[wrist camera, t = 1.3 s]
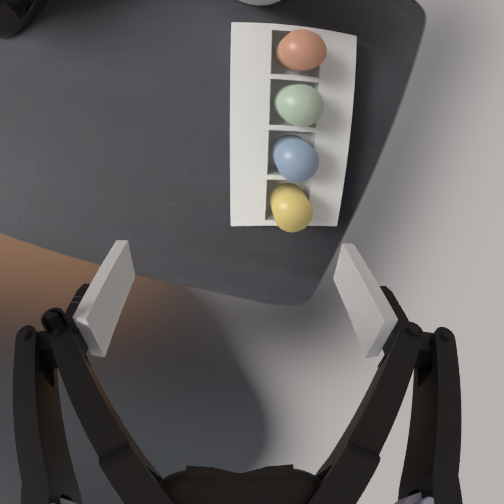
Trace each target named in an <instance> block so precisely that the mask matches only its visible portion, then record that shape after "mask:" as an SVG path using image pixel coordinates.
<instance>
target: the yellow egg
mask: <svg viewBox="0 0 504 504" xmlns="http://www.w3.org/2000/svg"><path fill="white" fill-rule="evenodd" d="M270 205H271V208H272V212H273V216H274V219H275V222H276V224H277V225H278V227H279V228H281V229H282V230H284V231H287V232H297V231H300V230H302V229H304V228H306V227H307V226H308V225H309V223H310V222H311V220H312V217H313V208H312V206H311V204H310V202H309V201H308V199H307V197H306V196H305V194H304V192H303V191H302V189H301V188H300V187H299V186H298V185H296V184H294V183H282V184H280V185H278V186H276V187H275V188H274V189H273V191H272V192H271V195H270Z"/></svg>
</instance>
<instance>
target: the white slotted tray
mask: <svg viewBox="0 0 504 504" xmlns="http://www.w3.org/2000/svg"><path fill="white" fill-rule="evenodd" d="M298 29H306V30H310V31H313V32H315V33H316V34H318V35H319V36H320V37H321V38H322V39H323V41H324V42H325V45H326V48H327V54H326V58H325V60H324V61H323V63H322V64H321V65H319V66H318V67H316V68H313V69H309V70H304V71H298V72H295V71H290V70H287V69H285V68H284V67H282V66H281V65H280V64H279V62H278V60H277V58H276V54H275V51H276V47H277V45H278V43H279V42H280V41H281V40H282V39H283V38H284V37H285V36H286V35H287V34H289V33H290V32H292V31H294V30H298ZM356 43H357V36H354V35H350V34H345V33H340V32H335V31H329V30H323V29H317V28H310V27H303V26H294V25H284V24H271V23H245V22H231V69H230V201H231V226H278V225H277V224H276V222H275V219H274V216H273V212H272V208H271V205H270V195H271V192H272V191H273V189H274V188H275V187H276V186H278V185H280V184H282V183H294V184H296V185H298V186H299V187H300V188H301V189H302V191H303V192H304V194H305V196H306V197H307V199H308V201H309V202H310V204H311V206H312V208H313V217H312V220H311V222H310V223H309V225H308V226H337V223H338V217H339V211H340V205H341V199H342V193H343V186H344V179H345V172H346V165H347V157H348V149H349V141H350V132H351V122H352V111H353V100H354V86H355V69H356ZM295 84H304V85H308V86H311V87H313V88H314V89H316V90H317V91H318V92H319V93H320V95H321V97H322V99H323V102H324V110H323V113H322V116H321V117H320V119H319V120H318V121H317V122H316V123H314V124H312V125H310V126H305V127H300V126H295V125H293V124H291V123H289V122H288V121H286V120H285V119H283V118H282V117H281V116H279V114H278V113H277V112H276V110H275V107H274V98H275V95H276V93H277V92H278V91H279V90H280V89H281V88H282V87H284V86H287V85H295ZM291 134H292V135H297V136H299V137H301V138H302V139H303V140H305V141H306V142H307V143H308V144H310V145H311V146H312V147H313V148H314V149H315V150H316V152H317V154H318V157H319V166H318V169H317V171H316V173H315V174H314V175H313V176H312V177H311V178H310V179H308V180H306V181H304V182H291V181H289V180H287V179H285V178H284V177H283V176H282V175H281V174H280V172H279V170H278V168H277V166H276V164H275V162H274V160H273V157H272V148H273V145H274V143H275V142H276V141H277V140H278V139H279V138H280V137H282V136H284V135H291Z"/></svg>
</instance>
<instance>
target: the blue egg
mask: <svg viewBox="0 0 504 504" xmlns="http://www.w3.org/2000/svg"><path fill="white" fill-rule="evenodd" d="M272 157H273V160H274V162H275V164H276V166H277V168H278V170H279V172H280V174H281V175H282V176H283V177H284V178H285V179H287V180H289V181H291V182H304V181H306V180H308V179H310V178H311V177H312V176H313V175H314V174H315V173H316V171H317V169H318V166H319V157H318V154H317V152H316V150H315V149H314V148H313V147H312V146H311V145H310V144H308V143H307V142H306V141H305V140H303V139H302V138H301V137H299V136H297V135H292V134H291V135H284V136H282V137H280V138H279V139H278V140H277V141H276V142H275V143H274V145H273V148H272Z"/></svg>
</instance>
